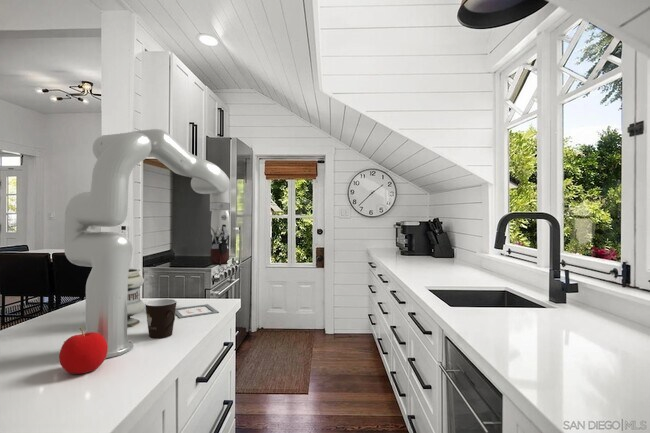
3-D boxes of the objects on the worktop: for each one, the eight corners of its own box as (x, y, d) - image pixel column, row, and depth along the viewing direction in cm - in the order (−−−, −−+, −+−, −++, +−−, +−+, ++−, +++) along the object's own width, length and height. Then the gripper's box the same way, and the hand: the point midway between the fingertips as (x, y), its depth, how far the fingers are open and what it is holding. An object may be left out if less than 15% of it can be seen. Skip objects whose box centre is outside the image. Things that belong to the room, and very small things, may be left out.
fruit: (99, 359, 88) (99, 319, 88) (113, 369, 82) (114, 326, 82) (54, 371, 81) (54, 328, 81) (65, 383, 75) (66, 336, 75)
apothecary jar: (111, 332, 108) (112, 274, 108) (95, 324, 115) (96, 270, 115) (150, 323, 118) (151, 269, 118) (133, 317, 125) (134, 266, 125)
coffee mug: (145, 332, 108) (145, 300, 108) (175, 329, 112) (176, 298, 112) (143, 345, 98) (144, 309, 98) (177, 341, 101) (177, 306, 101)
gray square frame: (179, 318, 124) (179, 317, 124) (171, 309, 135) (171, 308, 135) (218, 312, 132) (218, 311, 132) (207, 304, 143) (207, 304, 143)
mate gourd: (227, 263, 144) (228, 226, 144) (229, 265, 136) (230, 227, 136) (208, 263, 141) (209, 226, 141) (209, 266, 133) (210, 227, 134)
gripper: (237, 207, 134) (236, 253, 134) (221, 208, 148) (221, 250, 148) (217, 207, 130) (217, 255, 130) (203, 207, 144) (203, 251, 144)
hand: (219, 252), depth 139 cm, fingers closed on mate gourd, 7 cm apart
